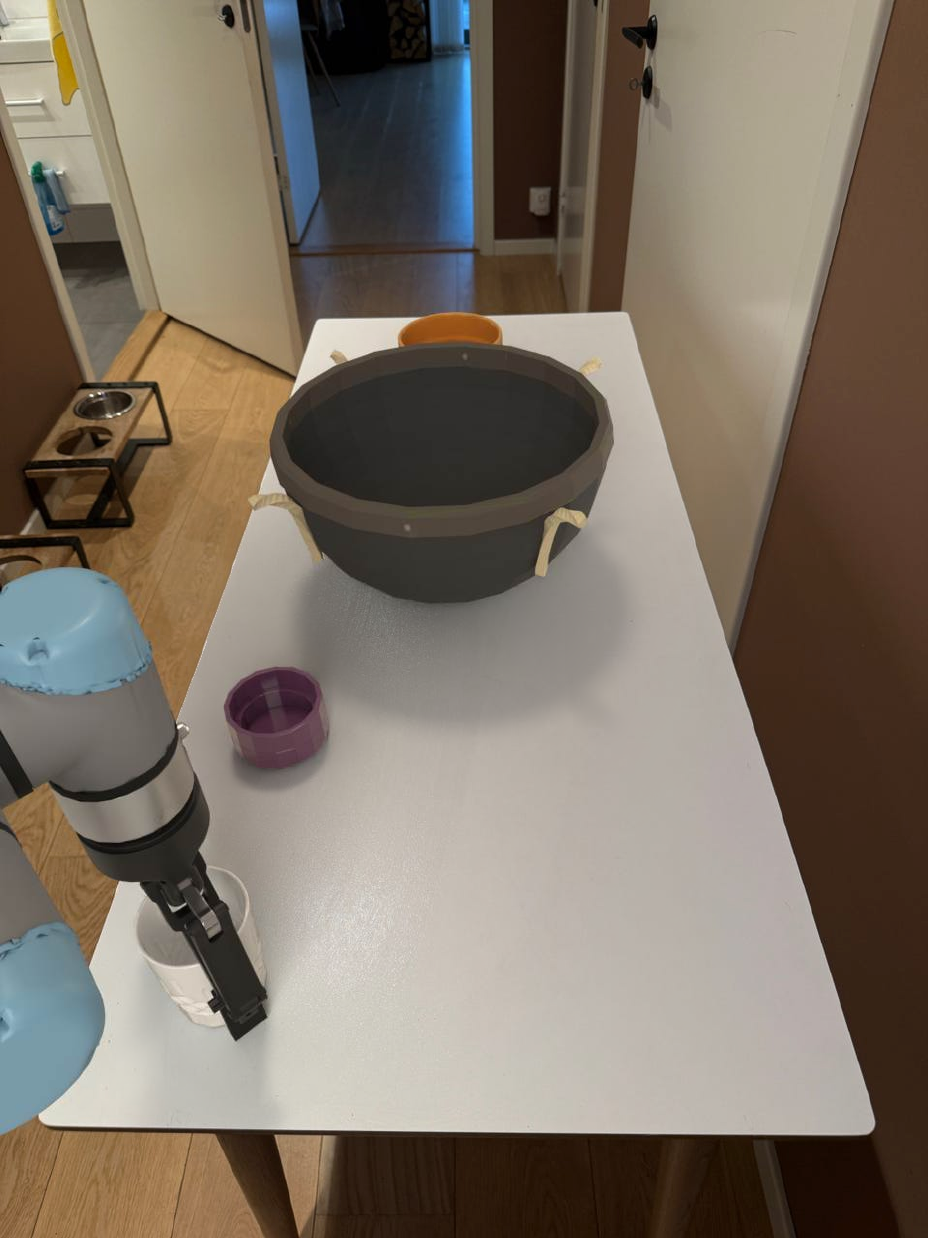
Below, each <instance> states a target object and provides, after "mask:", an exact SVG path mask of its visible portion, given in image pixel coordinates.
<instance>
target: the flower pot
mask: <svg viewBox="0 0 928 1238" xmlns="http://www.w3.org/2000/svg"><path fill="white" fill-rule="evenodd" d="M503 339H504V338H503V329H502V327H501V326H500V325H499V324H498V323H497V322H495V321H494V320H493V319H492V318H489V317H488V316H487V317H486V316H484V315H480V314H478V313H477V314H476V313H471V312H461V311H460V312H457V311H456V312H455V311H452V312H451V311H450V312H439V313H435V314H430V315H425V316H423V317H420V318H417V319H415V320H413V321H411V322H409V323H408V324H406V325H404V326H403V327H402V329H400V331H399V333H398V335H397V344H398V347H402V346H408V345H413V344H419V343H439V342H463V341H467V342H477V343H487V344H497V345H504V344H503Z"/></svg>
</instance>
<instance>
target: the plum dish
mask: <svg viewBox="0 0 928 1238" xmlns="http://www.w3.org/2000/svg"><path fill="white" fill-rule="evenodd" d="M223 710H224V718H225V722H226V726H227V728H228V731H229V734H230V737H231V738H230V739H231V741H232V744H233V747H234V750H235V752H236V753H237V754H238V755H239V756H240V757H241V759H243V761H244V762H246V763H248V764H251V765H252V766H256V767H257V768H261V769H275V770H276V769H277V770H279V769H284V768H288V767H291V766H295V765H299V764H301V763H302V762H303V761H306V760H308V758H310V757H312V756H314V755H316V753H317V751H318V750H319V749H320V748H321V746H322V745H323V744H324V743H325V742H326V739H327V735H328V731H329V728H330V727H329V725H330V724H329V720H328V716H327V710H326V706H325V700H324V696H323V693H322V688H321V684H320V682H319V681H318V680H317V679H316V678H315V677H314V676H312V674H311V673H309V672H308V671H305V670H303V669H299V668H296V667H294V666H272V667H268V668H264V669H260V670H257V671H254V672H252V673H250V674H249V675H247V676H245V677H243V678H241V679H240V680H239V681H238V682H237V683H236V684H235V685H234V686H233V687H232V688H231V689H230V690H229V692H228V693H227V696H226V699H225V701H224V705H223Z"/></svg>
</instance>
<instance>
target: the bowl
mask: <svg viewBox="0 0 928 1238" xmlns="http://www.w3.org/2000/svg"><path fill="white" fill-rule="evenodd" d="M329 358H330V359H332V361H333V362H334V364H335V365H333V366H331V367H330V368H328V369H326V370H324V371H323V372H322V373H320V374H318V375H316V376H315V377H313V378H312V379H310V380H308V381H306V382H305V383H303V384H301V385H300V387H299V388H298V389H297V390H296V391H295V392H294V393H293V394H292V395H291V397H289V398H288V400H286V401H285V403H284V404H283V405H282V406H281V407H280V408H279V410H277V413H276V416H275V419H274V423H273V425H272V429H271V433H270V437H269V454H270V460H271V463H272V466H273V469H274V472H275V474H276V477H277V481H278V484H279V485H280V487H281V488H283V489H284V492H285V493H281V492H273V493H267V494H262V493H261V494H260V493H258V494H254V495H252V496H249V498H247V503H248V505H249V506H250V507H251V508H252V509H253V511H254V512H256V511H258V510H259V509H262V508H264V507H267V506H270V507H271V506H272V507H277V508H280V509H281V508H282V509H284V510H287V511H288V512H289V514H290V516H291V517H292V519H293V520H294V523H295V525H296V526H297V528H298V531H299V533H300V535H301V537H302V539H303V541H304V543H305V546H306V548H307V550H308V552H309V554H310V557H311V560H312V563H321V562H323V559H324V555H325V556H326V557H327V558H328V559H329V560H330V561H332V563H334V565H336V566H337V567H338V568H339V569H340V570H341V571H343V572H344V573H345V574H346V575H347V576H349V577H350V578H351V579H353V580H355V581H358V582H360V583H361V584H364V585H365V586H368V587H370V588H373V589H374V590H377V591H379V592H381V593H383V594H386V595H388V596H390V597H392V598H395V599H401V600H407V601H412V602H417V603H424V604H432V605H433V604H435V605H436V604H457V603H458V604H460V603H469V602H473V601H477V600H481V599H484V598H490V597H493V596H497V595H501V594H503V593H505V592H508V591H509V590H511V589H513V588H515V587H516V586H519V585H521V584H522V583H524V582H526V581H528V580H530V579H532V578H534V577H535V576H540V577H543V578H545V576H546V574H547V571H548V566H549V565H550V564H551V563H552V562H553V561H554V560H555V559H556V558H557V557H558V556H559V555H560V554H561V553H562V552H563V551H564V550H565V549H566V548H567V547H568V546H569V545H570V544H571V542H572V541H573V540H574V539H575V538H576V537H577V536H578V535H579V533H580V532H581V530H582V528H583V527H584V526H585V525H587V524H588V522H589V520H588V518H589V516H590V513H591V511H592V508H593V505H594V502H595V500H596V498H597V494H598V492H599V489H600V487H601V483H602V482H603V477H604V475H605V473H606V469H607V465H608V461H609V458H610V455H611V454H612V451H613V448H614V445H615V436H614V435H615V434H614V424H613V420H612V417H611V413H610V408H609V404H608V400H607V398H606V397H605V396H604V395H603V394H602V393H601V392H600V391H599V390H598V389H597V387H596V386H595V385H594V384H593V383H592V381H590V380H589V379H588V378H587V377H586V376H587V375H589V374H591V373H593V372H595V371H598V370H599V369H600V368H601V367H602V366H603V363H602V361H601V359H600V357H593V358H591V359H589V360H587V361H586V362H585V363H584V364H583V365H582V366H581V367H580V368H579V369H578V370H576V369H574V368H573V367H571V366H569V365H567V364H565V363H564V362H561V361H559V360H557V359H555V358H554V357H551V356H549V355H545V354H541V353H538V352H534V351H530V350H528V349H523V348H519V347H516V346H512V345H505V344H503V345H497V344H487V343H477V342H467V341H463V342H439V343H419V344H413V345H408V346H402V347H399V346H398V347H397V346H396V347H391V348H386V349H382V350H376V351H373V352H369V353H367V354H364V355H360V356H358V357H355V358H353V359H349V360H348V358H347V357H346V356H345V354H344V353H342V352H341V351H339V350H338V349H337V350H336V349H333V351H332V352H331V354H330V355H329Z"/></svg>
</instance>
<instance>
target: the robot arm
mask: <svg viewBox="0 0 928 1238" xmlns="http://www.w3.org/2000/svg"><path fill="white" fill-rule="evenodd" d="M153 650H154V649H153V646H152V643H151V641H148V639H147V638H146V635H145V633H144V631H143V629H142V626H141V625H140V623H139V621H138V618H137V616H136V614H135V612H134V610H133V607H132V605H131V603H130V601H129V598H128V597H127V594H126V593H125V591H124V589H123V587H122V586H121V585H120V584H119V583H117V582H116V581H115V580H114V579H112V578H111V577H109V576H107V575H106V574H104V573H102V572H100V571H96V570H94V569H89V568H85V567H77V566H76V567H75V566H61V567H53V568H46V569H40V570H37V571H34V572H30V573H27V574H25V575H22V576H20V577H18V578H16V579H14V580H12V581H9V582H8V583H5V585H3V586H2V589H1V591H0V1136H1V1137H2V1136H3V1135H5V1134H7V1133H9V1132H11V1131H13V1130H15V1129H17V1128H19V1127H21V1126H22V1125H24V1124H26V1123H27V1122H29V1121H31V1120H32V1119H34V1118H35V1117H37V1116H39V1115H40V1114H41V1113H43V1112H44V1111H45V1110H47V1109H48V1108H49V1107H51V1106H52V1105H53V1104H54V1103H55V1102H57V1100H59V1099H60V1098H61V1097H62V1096H64V1094H65V1093H66V1092H67V1091H68V1090H69V1089H70V1088H71V1087H72V1086H73V1085H74V1084H75V1083H76V1082H77V1081H78V1080H79V1079H80V1078H81V1076H82V1074H83V1073H84V1072H85V1071H86V1069H87V1068H88V1066H89V1065H90V1064H91V1062H92V1060H93V1057H94V1055H95V1052H96V1050H97V1048H98V1047H99V1046H100V1042H101V1040H102V1037H103V1035H104V1030H105V1026H106V1016H107V1015H106V1007H105V1002H104V999H103V995H102V993H101V991H100V989H99V987H98V985H97V983H96V980H95V978H94V975H93V973H92V970H91V969H90V967H89V964H88V962H87V959H86V957H85V955H84V953H83V951H82V948H81V945H80V937H79V935H78V934H77V933H76V932H75V931H74V929H73V928H72V927H71V926H70V925H68V924H67V922H66V921H65V919H64V917H63V916H62V913H61V912H60V910H59V909H58V907H57V905H56V903H55V901H54V900H53V899H52V898H53V897H51V895H50V894H49V892H48V890H47V888H46V886H45V885H44V883H43V882H42V880H41V878H40V877H39V875H38V873H37V872H36V870H35V868H34V867H33V865H32V863H31V861H30V859H29V858H28V856H27V854H26V853H25V851H24V849H23V846H22V844H21V843H20V841H19V839H18V837H17V835H16V834H15V831H14V829H13V828H12V826H11V824H10V822H9V821H8V818H7V816H6V815H5V813H4V811H3V810H4V809H5V808H7V807H9V806H10V805H12V804H14V803H16V802H18V801H19V800H21V799H23V798H25V797H26V796H29V795H30V794H32V793H34V791H35V790H36V789H37V788H39V787H41V786H43V785H44V784H47V785H48V786H49V788H50V790H51V792H52V794H53V796H54V797H55V799H56V802H57V804H58V805H59V807H60V809H61V811H62V812H63V814H64V816H65V818H66V820H67V822H68V824H69V825H70V826H71V827H72V829H73V830H74V832H75V834H76V836H77V837H78V840H79V842H80V843H81V845H82V847H83V848H84V850H85V853H86V854H87V856H88V858H89V860H90V862H91V863H92V865H93V866H94V867H95V869H96V870H98V872H100V873H101V874H103V875H104V876H106V877H107V878H110V879H112V880H115V881H118V882H123V883H139V886H140V888H141V890H143V892H144V893H145V896H148V897H149V898H150V900H151V901H152V902H154V903H156V904H157V906H158V908H159V910H160V911H161V913H162V915H163V917H164V919H165V920H166V922H167V923H168V925H169V926H170V927H171V928H172V930H173V931H175V932H182V934H183V936H184V937H185V939H186V941H187V943H188V945H189V946H190V948H191V950H192V952H193V954H194V955H195V957H196V959H197V961H198V962H199V964H200V966H201V968H202V970H203V972H204V973H205V975H206V977H207V979H208V981H209V982H210V984H211V986H212V988H213V990H212V991H211V994H212V996H213V998H212V999H211V1000H209V1001H208V1002H207V1004H208V1005H209V1007H210V1009H211V1010H212V1012H213V1013H214V1014H215V1013H217V1012H218V1011H220V1013H221V1015H222V1017H223V1019H224V1021H225V1023H226V1025H225V1026H226V1027H227V1030H228V1032H229V1034H230V1036H231V1038H233V1040H234V1042H236V1043H237V1041H239V1040H241V1038H243V1037H244V1036H245V1035H247V1034H248V1033H249V1032H251V1031H252V1030H254V1029H255V1028H256V1027H258V1026H259V1025H260V1024H261V1023H262V1022H264V1021H265V1020H267V1019H268V1018H269V1017H268V1014H267V1012H266V1009H265V1006H264V1005H263V1003H264V1002H265V1001H266V1000H268V999H269V998H268V996H269V995H268V994H267V992H268V991H267V989H266V988H265V986H264V987H263V986H262V984H261V982H260V980H259V978H258V976H257V974H256V972H255V970H254V967H253V965H252V963H251V961H250V959H249V957H248V955H247V953H246V951H245V949H244V946H243V944H242V942H241V940H240V938H239V936H238V934H237V932H236V930H235V927H234V925H233V922H232V919H231V916H230V913H229V910H230V909H229V907H228V905H227V904H226V903H224V902H223V901H221V900H220V899H219V896H218V894H217V892H216V891H215V889H214V887H213V885H212V883H211V881H210V879H209V877H208V875H207V874H206V869H207V866H208V865H207V863H206V861H205V859H204V857H203V855H202V853H201V852H200V848H201V847H202V846H203V844H204V841H205V840H206V838H207V835H208V832H209V828H210V823H211V814H210V812H211V811H210V808H209V804H208V802H207V798H206V796H205V793H204V790H203V788H202V786H201V783H200V780H199V778H198V775H197V773H196V772H195V770H194V767H193V765H192V762H191V759H190V757H189V756H190V755H189V753H188V751H187V748H186V747H185V745H184V744H183V740H184V739H187V737H188V736H189V735H190V728H189V727H188V725H187V724H186V723H185V722H183V721H180V722H177V721H176V718H175V716H174V713H173V710H172V709H171V706H170V703H169V700H168V697H167V694H166V690H165V688H164V686H163V682H162V679H161V676H160V673H159V670H158V667H157V665H156V662H155V658H154V654H153ZM202 889H203V892H202V894H200V893H201V891H202ZM167 903H168V904H169V905H170V906H172V907H179V906H181V905H183V904H185V903H186V905H185V906H183V907H182V908H180V909H179V910H177V911H175V912H172V911H171V909H170V907H169V905H168V904H167Z"/></svg>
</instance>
